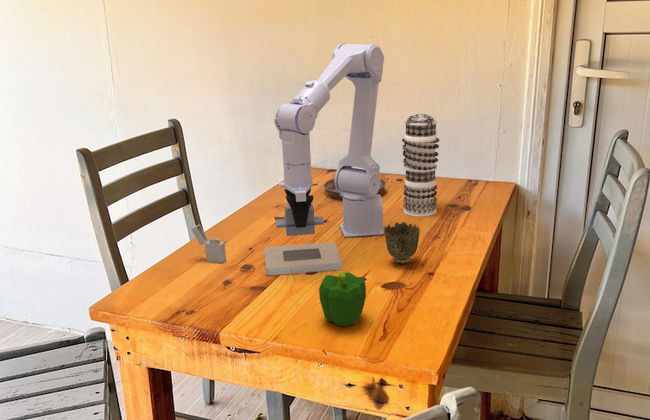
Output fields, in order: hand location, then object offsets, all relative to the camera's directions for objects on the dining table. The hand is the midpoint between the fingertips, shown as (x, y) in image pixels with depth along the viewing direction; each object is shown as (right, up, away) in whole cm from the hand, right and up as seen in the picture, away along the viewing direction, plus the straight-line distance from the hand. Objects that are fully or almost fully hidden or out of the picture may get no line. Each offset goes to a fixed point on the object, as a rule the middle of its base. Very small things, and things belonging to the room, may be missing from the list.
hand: (300, 223), depth 145 cm
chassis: (0, -8, +3) cm, 9 cm away
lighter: (-20, -8, +6) cm, 22 cm away
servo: (0, -2, +1) cm, 2 cm away
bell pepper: (+8, -17, -23) cm, 30 cm away
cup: (+22, -9, 0) cm, 23 cm away
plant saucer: (+14, +7, +49) cm, 52 cm away
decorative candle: (+30, +2, +31) cm, 44 cm away
